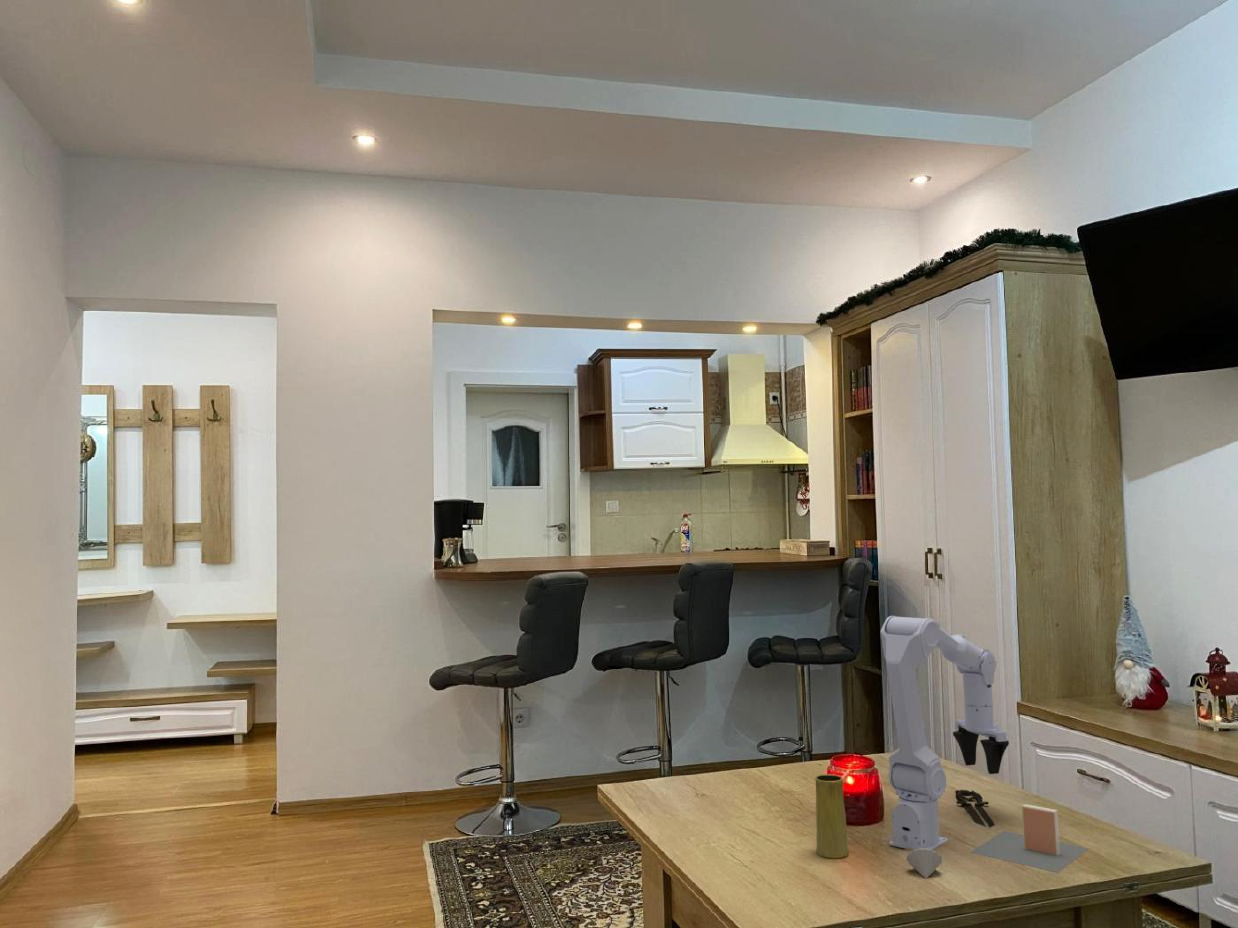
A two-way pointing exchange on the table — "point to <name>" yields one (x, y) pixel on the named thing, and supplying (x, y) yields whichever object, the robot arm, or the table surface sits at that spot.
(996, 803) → the table surface
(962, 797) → the dark ornate flat tool
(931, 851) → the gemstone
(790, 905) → the table surface
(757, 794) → the table surface
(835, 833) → the vase
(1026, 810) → the tile
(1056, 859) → the mat
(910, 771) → the robot arm
